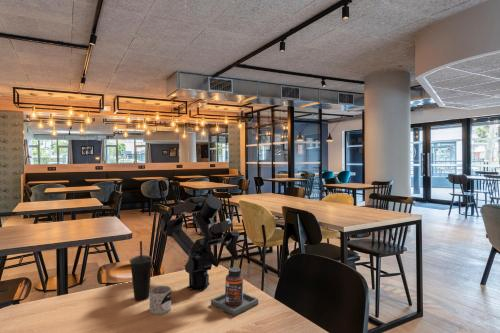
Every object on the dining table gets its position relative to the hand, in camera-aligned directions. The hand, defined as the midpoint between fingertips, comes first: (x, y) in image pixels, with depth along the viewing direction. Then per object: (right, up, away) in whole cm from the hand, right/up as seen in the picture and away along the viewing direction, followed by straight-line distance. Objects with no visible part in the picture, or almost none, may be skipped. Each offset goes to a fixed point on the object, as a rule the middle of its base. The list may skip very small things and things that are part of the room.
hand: (227, 262), depth 108 cm
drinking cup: (-30, -14, +4) cm, 34 cm away
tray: (+2, -13, -2) cm, 14 cm away
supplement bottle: (+2, -13, -2) cm, 13 cm away
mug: (-21, -14, -3) cm, 25 cm away
